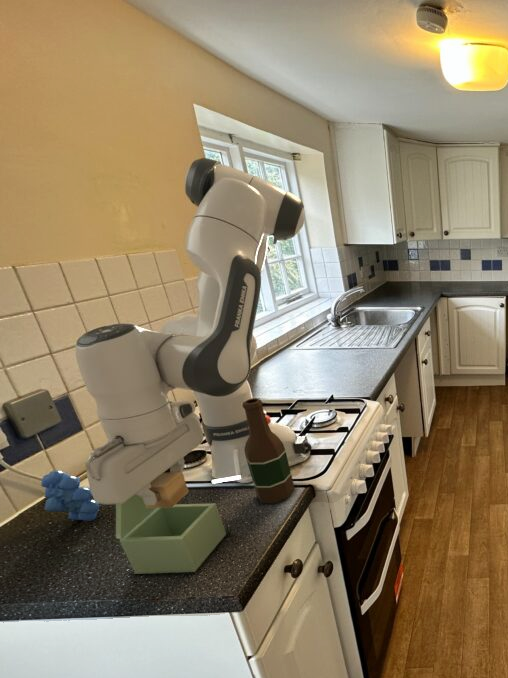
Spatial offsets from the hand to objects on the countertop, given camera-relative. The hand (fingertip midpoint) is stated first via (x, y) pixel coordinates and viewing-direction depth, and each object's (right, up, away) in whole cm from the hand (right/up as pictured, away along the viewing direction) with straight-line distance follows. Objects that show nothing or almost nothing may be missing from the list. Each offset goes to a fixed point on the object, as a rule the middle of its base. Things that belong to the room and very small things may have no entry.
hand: (166, 492), depth 73 cm
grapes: (-30, -10, +14) cm, 35 cm away
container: (-1, -13, +6) cm, 14 cm away
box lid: (-4, -1, 0) cm, 5 cm away
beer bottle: (+7, -6, +22) cm, 24 cm away
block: (0, -2, +1) cm, 2 cm away
